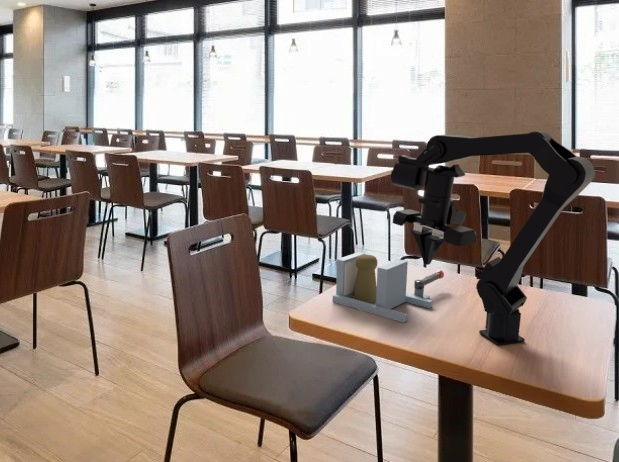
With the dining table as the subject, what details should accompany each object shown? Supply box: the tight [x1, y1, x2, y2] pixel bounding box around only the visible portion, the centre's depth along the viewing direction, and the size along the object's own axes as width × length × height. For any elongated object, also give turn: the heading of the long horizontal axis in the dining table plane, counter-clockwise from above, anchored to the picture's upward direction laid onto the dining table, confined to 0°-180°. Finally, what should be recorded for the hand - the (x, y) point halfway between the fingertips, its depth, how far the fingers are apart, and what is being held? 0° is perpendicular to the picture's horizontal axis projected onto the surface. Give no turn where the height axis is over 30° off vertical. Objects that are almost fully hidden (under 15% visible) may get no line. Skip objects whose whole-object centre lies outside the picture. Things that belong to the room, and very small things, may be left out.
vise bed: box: [332, 251, 433, 323], centre depth 128 cm, size 20×18×10 cm
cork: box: [352, 254, 378, 304], centre depth 129 cm, size 6×6×11 cm
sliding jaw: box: [375, 259, 409, 310], centre depth 124 cm, size 3×9×10 cm, turn 140°
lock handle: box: [413, 269, 445, 289], centre depth 134 cm, size 13×2×2 cm, turn 139°
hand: (427, 264), depth 117 cm, fingers closed
